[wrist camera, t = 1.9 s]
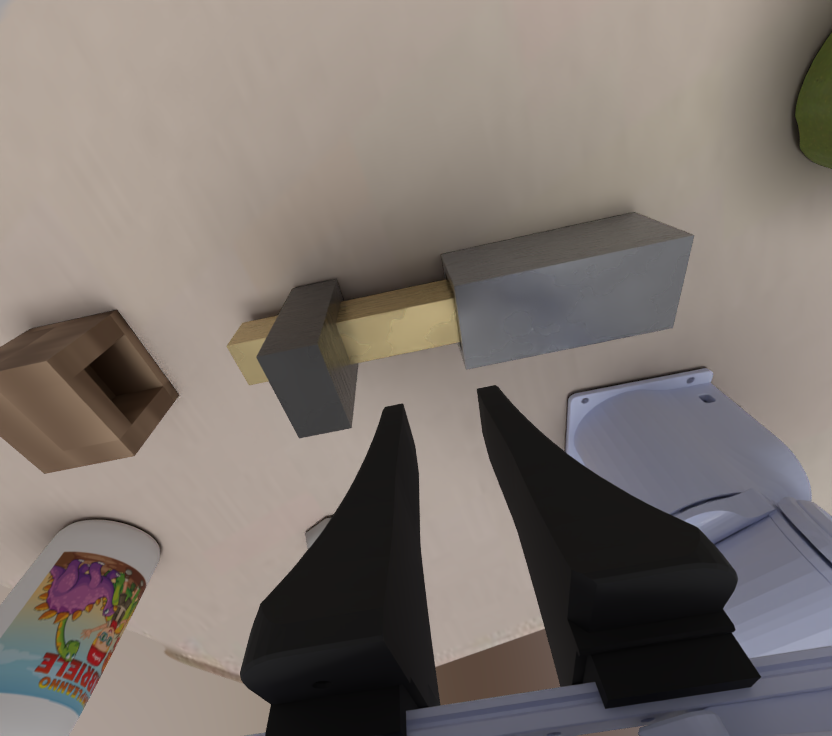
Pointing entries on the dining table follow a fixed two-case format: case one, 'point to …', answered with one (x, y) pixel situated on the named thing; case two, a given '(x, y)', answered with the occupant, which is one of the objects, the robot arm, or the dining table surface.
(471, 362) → the sleeve
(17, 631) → the milk bottle
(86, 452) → the socket
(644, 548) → the robot arm
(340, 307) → the grey-banded wooden bar
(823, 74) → the plant pot
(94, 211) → the dining table surface
